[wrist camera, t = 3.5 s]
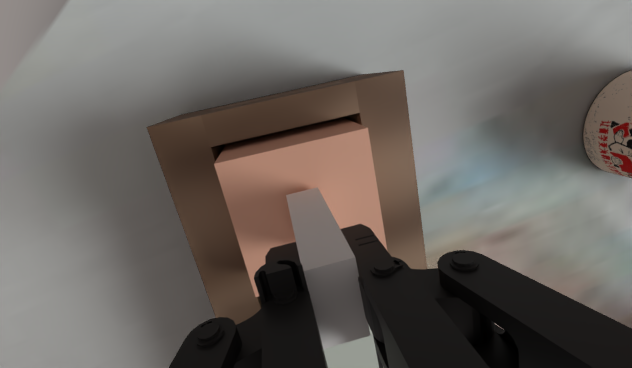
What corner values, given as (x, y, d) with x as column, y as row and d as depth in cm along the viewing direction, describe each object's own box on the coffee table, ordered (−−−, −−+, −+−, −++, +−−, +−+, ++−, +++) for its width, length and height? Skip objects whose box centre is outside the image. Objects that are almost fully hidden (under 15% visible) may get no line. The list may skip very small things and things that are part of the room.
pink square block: (362, 223, 22) (388, 261, 17) (257, 250, 22) (255, 297, 17) (342, 117, 20) (367, 127, 15) (225, 144, 19) (214, 163, 15)
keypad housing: (411, 381, 33) (449, 456, 26) (281, 420, 32) (286, 509, 25) (364, 74, 24) (403, 70, 17) (180, 114, 23) (146, 127, 16)
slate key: (381, 332, 25) (409, 390, 20) (289, 358, 24) (295, 425, 20) (366, 249, 23) (394, 293, 18) (265, 276, 22) (265, 329, 17)
